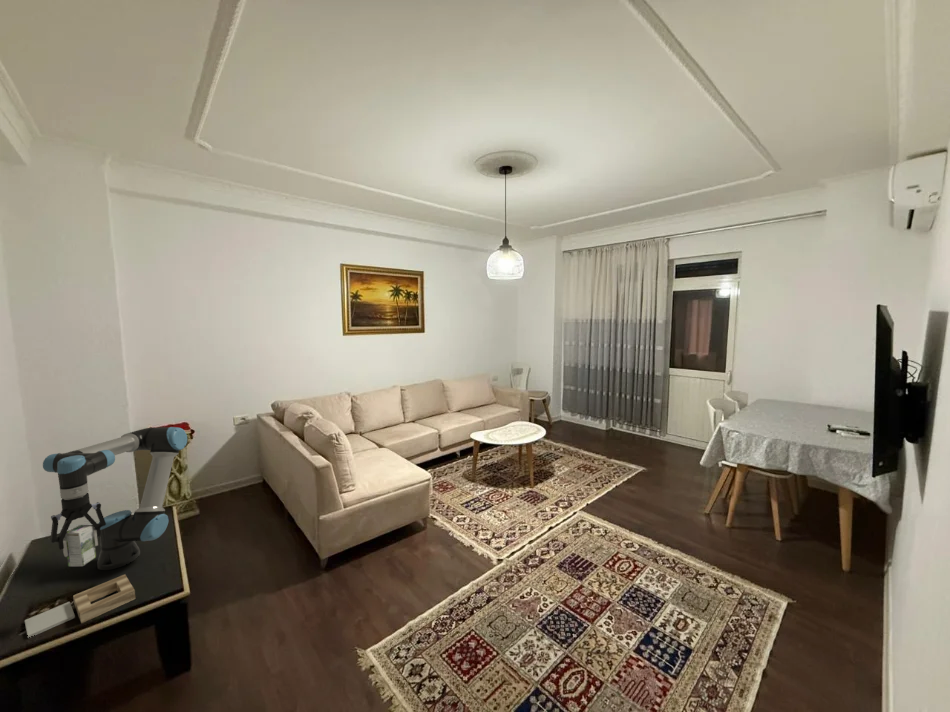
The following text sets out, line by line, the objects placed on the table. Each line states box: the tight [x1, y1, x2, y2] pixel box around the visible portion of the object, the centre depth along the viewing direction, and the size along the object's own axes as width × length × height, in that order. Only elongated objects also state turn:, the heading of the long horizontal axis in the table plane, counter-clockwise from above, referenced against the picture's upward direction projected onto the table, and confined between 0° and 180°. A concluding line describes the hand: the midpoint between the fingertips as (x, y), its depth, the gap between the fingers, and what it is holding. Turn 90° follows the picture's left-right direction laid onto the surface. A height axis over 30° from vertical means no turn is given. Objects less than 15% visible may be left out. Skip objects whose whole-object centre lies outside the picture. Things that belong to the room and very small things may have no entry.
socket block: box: [72, 574, 136, 624], centre depth 157 cm, size 16×16×4 cm
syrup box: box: [64, 524, 97, 567], centre depth 151 cm, size 6×6×14 cm
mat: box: [24, 601, 76, 639], centre depth 148 cm, size 12×12×1 cm
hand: (81, 549), depth 151 cm, fingers closed on syrup box, 8 cm apart
